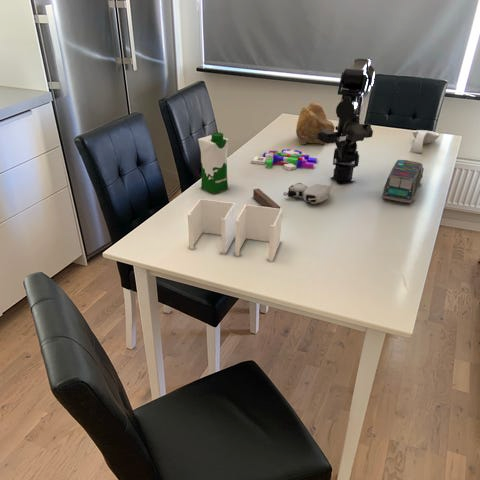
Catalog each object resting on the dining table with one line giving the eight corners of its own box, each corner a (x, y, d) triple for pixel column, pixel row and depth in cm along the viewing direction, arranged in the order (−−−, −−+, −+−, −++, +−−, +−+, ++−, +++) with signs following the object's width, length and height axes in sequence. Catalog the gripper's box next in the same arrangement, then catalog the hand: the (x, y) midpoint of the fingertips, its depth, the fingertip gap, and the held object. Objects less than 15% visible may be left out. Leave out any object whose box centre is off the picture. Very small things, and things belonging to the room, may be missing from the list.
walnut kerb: (258, 197, 170) (258, 188, 168) (279, 216, 159) (280, 206, 157) (252, 198, 169) (253, 189, 167) (274, 217, 158) (274, 207, 156)
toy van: (421, 182, 182) (428, 156, 176) (410, 207, 165) (417, 179, 158) (393, 177, 186) (398, 151, 179) (379, 201, 168) (385, 174, 162)
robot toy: (280, 202, 169) (320, 209, 162) (280, 190, 166) (321, 196, 159) (296, 190, 177) (334, 196, 170) (296, 178, 174) (335, 184, 168)
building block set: (319, 155, 204) (320, 144, 201) (311, 173, 188) (312, 161, 185) (262, 149, 209) (262, 138, 206) (249, 165, 194) (250, 154, 191)
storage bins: (279, 242, 145) (282, 209, 138) (272, 260, 136) (274, 226, 130) (201, 231, 150) (200, 198, 143) (189, 248, 141) (187, 214, 135)
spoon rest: (413, 135, 226) (417, 120, 221) (439, 139, 221) (443, 123, 217) (402, 151, 209) (406, 134, 205) (430, 155, 205) (434, 138, 200)
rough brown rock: (325, 153, 208) (333, 117, 198) (289, 145, 211) (295, 109, 202) (336, 139, 225) (344, 105, 216) (302, 131, 229) (308, 98, 219)
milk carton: (213, 195, 170) (212, 138, 158) (197, 188, 175) (194, 132, 163) (231, 189, 175) (231, 133, 163) (215, 181, 180) (213, 127, 168)
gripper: (338, 121, 147) (331, 171, 157) (387, 115, 154) (378, 163, 163) (319, 112, 155) (314, 159, 165) (366, 106, 161) (358, 152, 171)
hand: (341, 159), depth 166 cm, fingers closed
